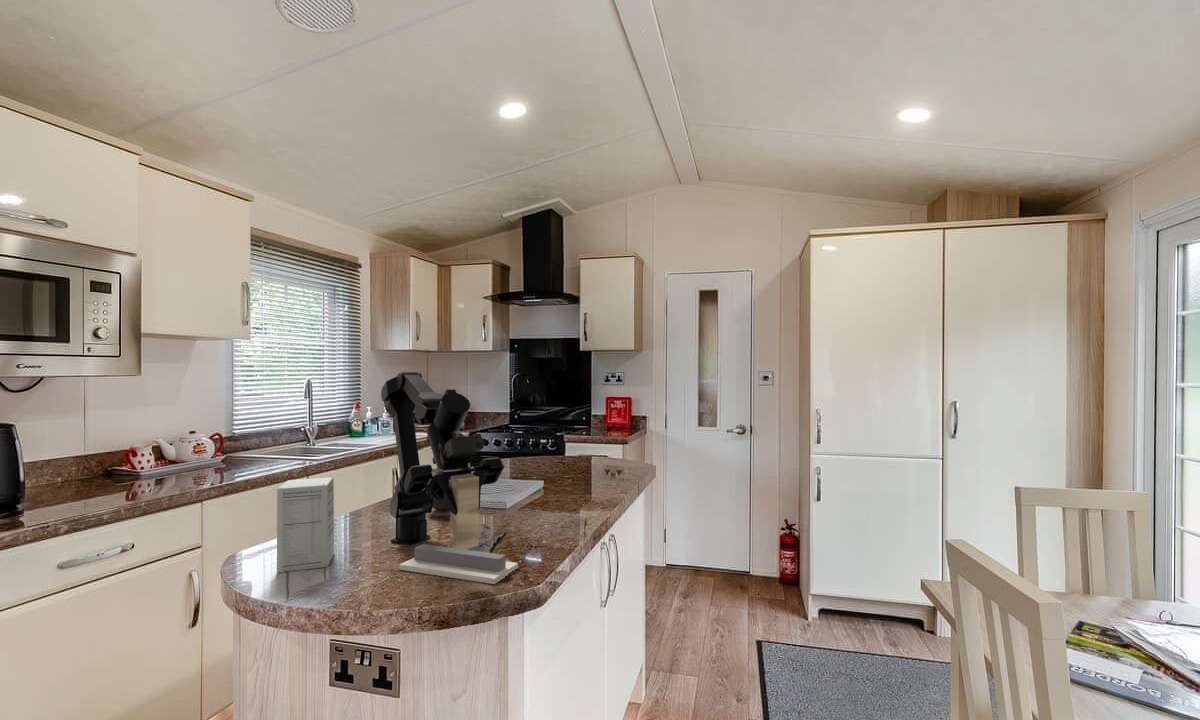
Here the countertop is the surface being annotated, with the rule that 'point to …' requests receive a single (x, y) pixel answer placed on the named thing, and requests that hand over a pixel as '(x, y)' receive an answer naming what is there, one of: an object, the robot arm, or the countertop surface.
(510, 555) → the countertop surface
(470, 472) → the robot arm
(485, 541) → the driftwood
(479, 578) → the ridge stand
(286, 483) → the supplement box
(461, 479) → the brass post
